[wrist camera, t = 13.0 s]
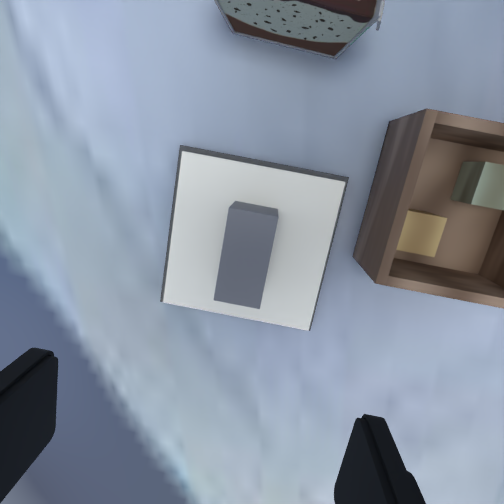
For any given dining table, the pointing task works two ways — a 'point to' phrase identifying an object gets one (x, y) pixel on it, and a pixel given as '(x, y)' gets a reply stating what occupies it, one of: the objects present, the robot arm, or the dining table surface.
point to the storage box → (435, 209)
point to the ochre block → (421, 232)
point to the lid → (250, 240)
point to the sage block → (480, 185)
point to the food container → (303, 22)
